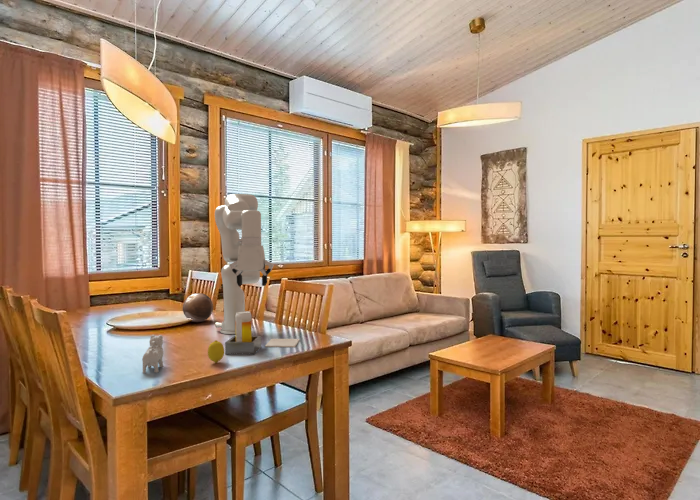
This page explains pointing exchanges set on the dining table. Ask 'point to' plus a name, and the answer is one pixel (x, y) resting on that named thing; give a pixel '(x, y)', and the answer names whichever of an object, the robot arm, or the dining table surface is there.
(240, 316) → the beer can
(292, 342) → the tile pad
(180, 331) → the dining table surface
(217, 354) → the lemon
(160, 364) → the white dog figurine
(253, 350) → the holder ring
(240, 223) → the robot arm
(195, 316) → the wooden sphere
